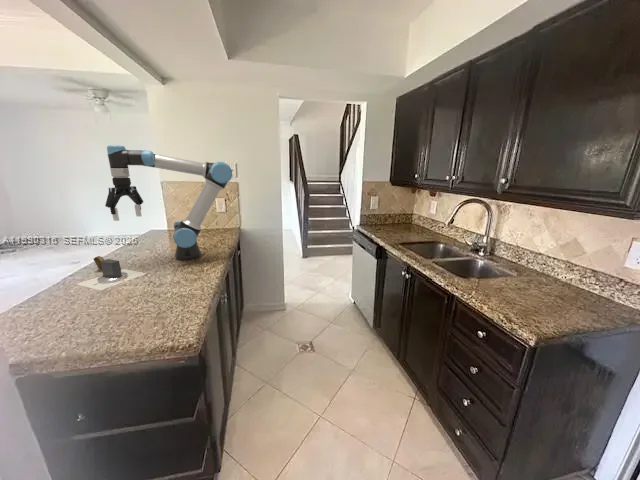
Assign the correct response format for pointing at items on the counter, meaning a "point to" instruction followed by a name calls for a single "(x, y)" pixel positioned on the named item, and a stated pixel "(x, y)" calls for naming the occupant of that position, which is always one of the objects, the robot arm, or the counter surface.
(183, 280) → the counter surface
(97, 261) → the rock
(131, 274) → the dial panel
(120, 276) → the dial
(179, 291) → the counter surface
